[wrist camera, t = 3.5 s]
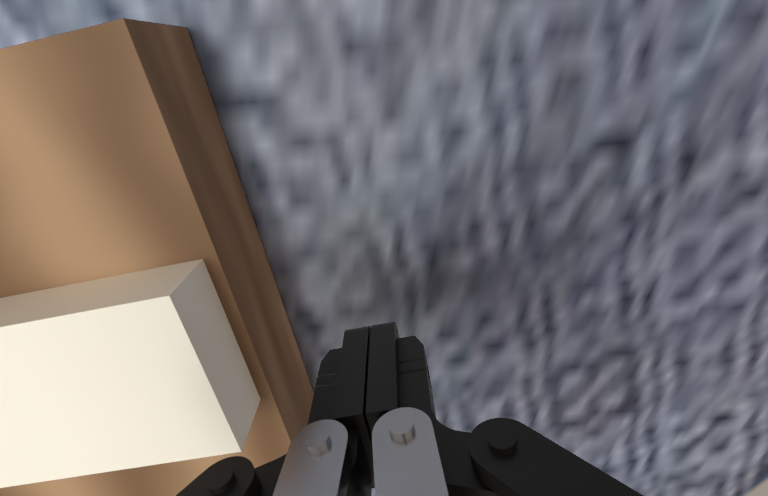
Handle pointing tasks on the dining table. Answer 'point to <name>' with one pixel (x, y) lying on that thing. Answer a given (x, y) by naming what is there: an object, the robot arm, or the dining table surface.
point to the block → (119, 376)
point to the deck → (137, 211)
